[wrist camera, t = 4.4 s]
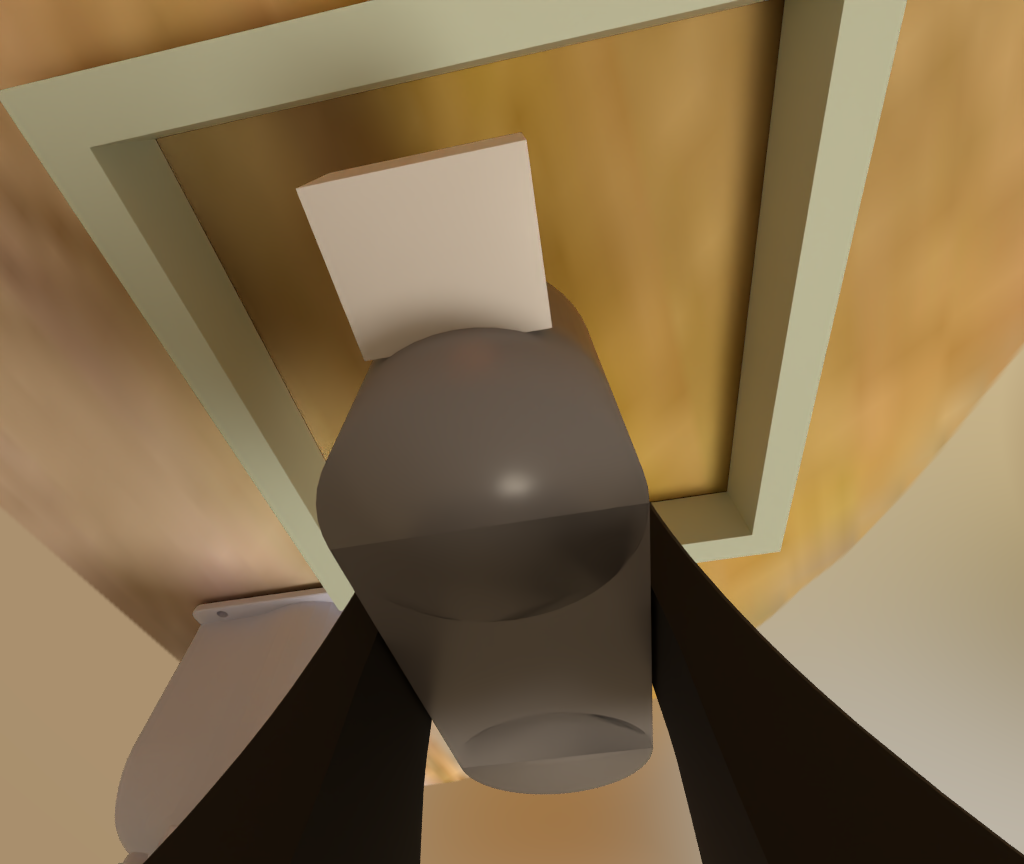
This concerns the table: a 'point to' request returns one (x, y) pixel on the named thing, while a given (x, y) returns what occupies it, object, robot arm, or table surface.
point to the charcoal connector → (486, 473)
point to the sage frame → (433, 51)
